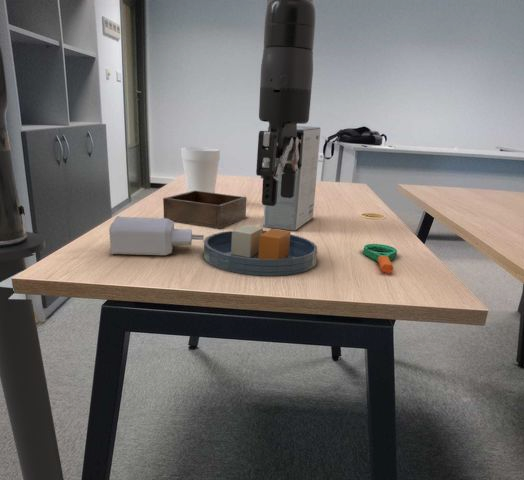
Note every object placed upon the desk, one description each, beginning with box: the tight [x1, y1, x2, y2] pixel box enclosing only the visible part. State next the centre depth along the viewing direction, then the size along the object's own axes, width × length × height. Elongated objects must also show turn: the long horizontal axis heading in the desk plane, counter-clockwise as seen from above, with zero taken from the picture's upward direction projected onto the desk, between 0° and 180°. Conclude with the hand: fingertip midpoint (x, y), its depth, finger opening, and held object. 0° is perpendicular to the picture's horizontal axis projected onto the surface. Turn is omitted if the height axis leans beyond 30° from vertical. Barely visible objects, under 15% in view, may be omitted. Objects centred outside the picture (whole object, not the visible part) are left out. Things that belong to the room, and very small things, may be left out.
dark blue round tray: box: [203, 230, 318, 277], centre depth 81 cm, size 19×19×2 cm
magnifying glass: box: [362, 243, 398, 273], centre depth 83 cm, size 15×6×2 cm, turn 173°
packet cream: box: [231, 224, 264, 257], centre depth 81 cm, size 4×6×4 cm, turn 158°
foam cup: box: [180, 146, 221, 193], centre depth 120 cm, size 10×9×13 cm
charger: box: [108, 216, 205, 256], centre depth 81 cm, size 5×9×15 cm
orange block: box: [258, 228, 292, 259], centre depth 79 cm, size 4×6×4 cm, turn 158°
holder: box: [162, 191, 248, 229], centre depth 105 cm, size 14×14×5 cm
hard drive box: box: [262, 125, 321, 232], centre depth 103 cm, size 16×8×20 cm, turn 161°
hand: (278, 201), depth 76 cm, fingers open, 8 cm apart
